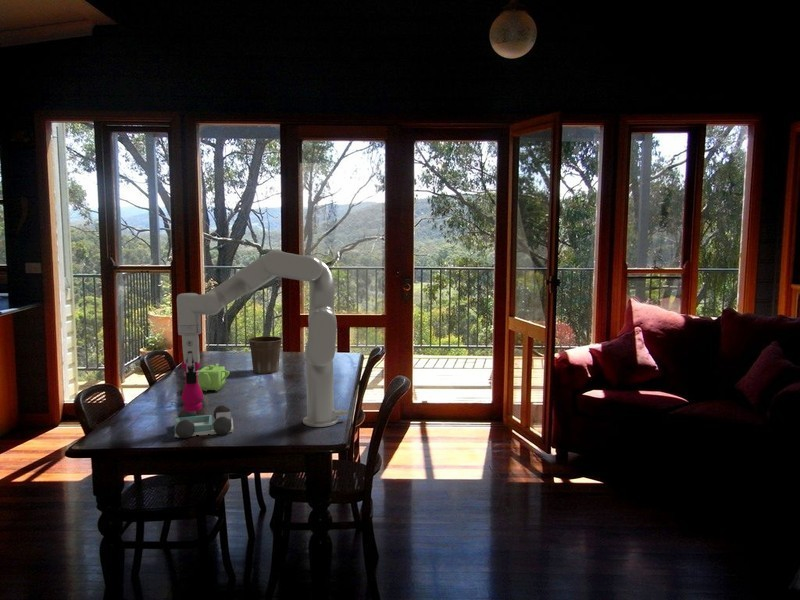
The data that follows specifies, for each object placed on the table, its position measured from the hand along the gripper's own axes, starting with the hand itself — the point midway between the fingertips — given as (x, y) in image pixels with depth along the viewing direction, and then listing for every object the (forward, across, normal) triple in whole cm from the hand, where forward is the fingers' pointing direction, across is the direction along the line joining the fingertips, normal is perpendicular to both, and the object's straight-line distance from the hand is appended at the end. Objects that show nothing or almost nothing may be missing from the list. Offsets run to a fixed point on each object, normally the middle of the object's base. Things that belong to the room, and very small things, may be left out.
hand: (191, 381), depth 217 cm
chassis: (+17, 0, -4) cm, 18 cm away
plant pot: (+18, +84, -31) cm, 91 cm away
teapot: (+18, +56, -6) cm, 59 cm away
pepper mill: (+10, 0, 0) cm, 10 cm away
